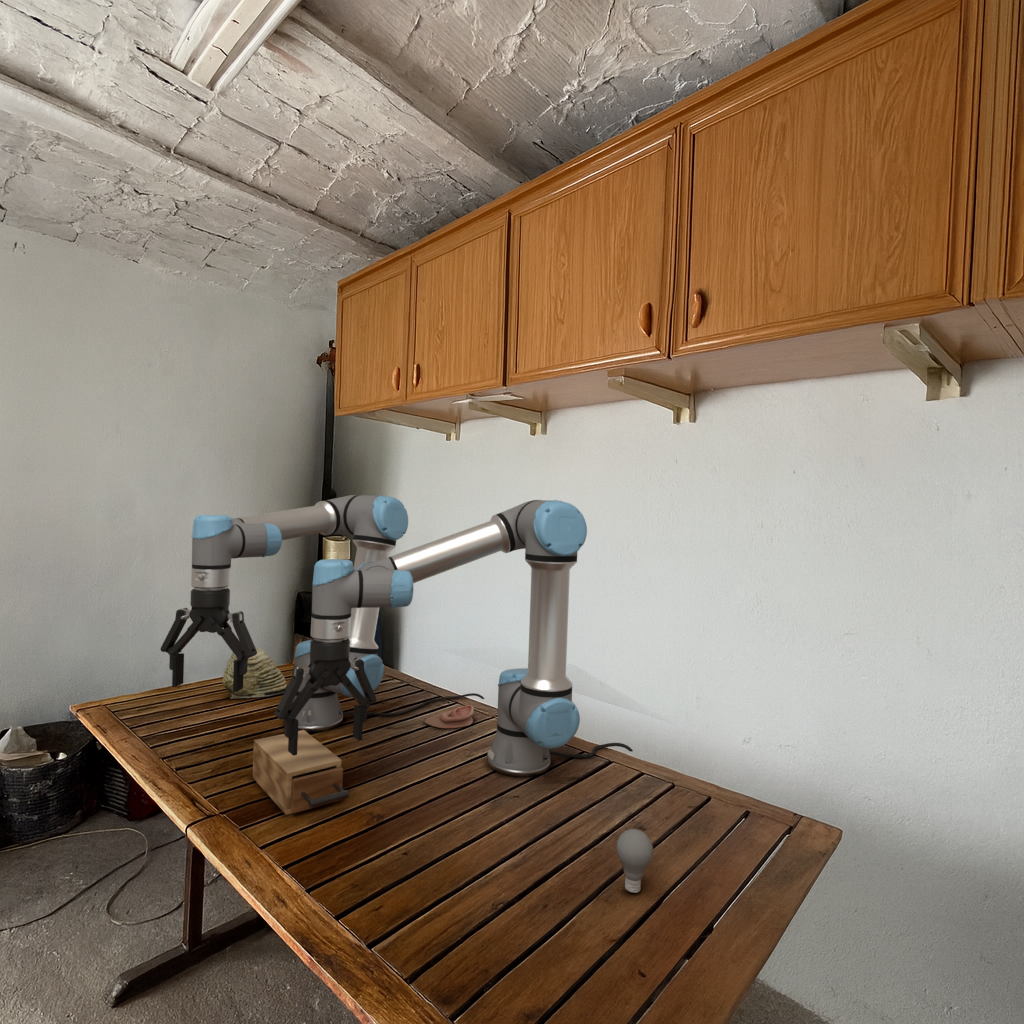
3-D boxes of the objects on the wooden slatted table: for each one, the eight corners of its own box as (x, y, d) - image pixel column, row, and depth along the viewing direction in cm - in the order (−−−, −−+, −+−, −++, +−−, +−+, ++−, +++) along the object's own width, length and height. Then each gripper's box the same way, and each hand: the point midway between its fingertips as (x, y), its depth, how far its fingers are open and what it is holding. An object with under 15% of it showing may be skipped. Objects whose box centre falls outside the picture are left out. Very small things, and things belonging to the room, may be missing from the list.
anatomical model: (421, 711, 177) (434, 699, 188) (420, 725, 177) (433, 712, 188) (466, 717, 174) (477, 704, 186) (466, 731, 174) (476, 717, 186)
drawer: (354, 810, 127) (355, 778, 126) (304, 826, 120) (305, 792, 120) (305, 766, 146) (306, 739, 146) (260, 777, 139) (261, 748, 139)
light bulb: (610, 879, 108) (613, 822, 108) (644, 879, 109) (647, 822, 109) (619, 902, 102) (622, 840, 102) (655, 901, 103) (658, 840, 103)
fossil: (218, 695, 195) (220, 647, 195) (278, 685, 208) (279, 640, 207) (228, 703, 189) (230, 653, 188) (289, 692, 201) (290, 645, 201)
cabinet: (340, 799, 133) (341, 759, 133) (285, 815, 126) (287, 773, 125) (302, 765, 149) (303, 729, 149) (252, 777, 141) (253, 740, 141)
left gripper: (143, 587, 131) (140, 688, 132) (257, 593, 129) (254, 697, 129) (167, 582, 139) (164, 678, 139) (275, 588, 136) (272, 686, 137)
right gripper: (273, 649, 114) (269, 766, 114) (395, 635, 130) (391, 738, 130) (259, 641, 120) (255, 752, 120) (378, 628, 136) (374, 727, 136)
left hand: (207, 687), depth 134 cm, fingers open, 13 cm apart
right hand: (326, 745), depth 125 cm, fingers open, 13 cm apart
